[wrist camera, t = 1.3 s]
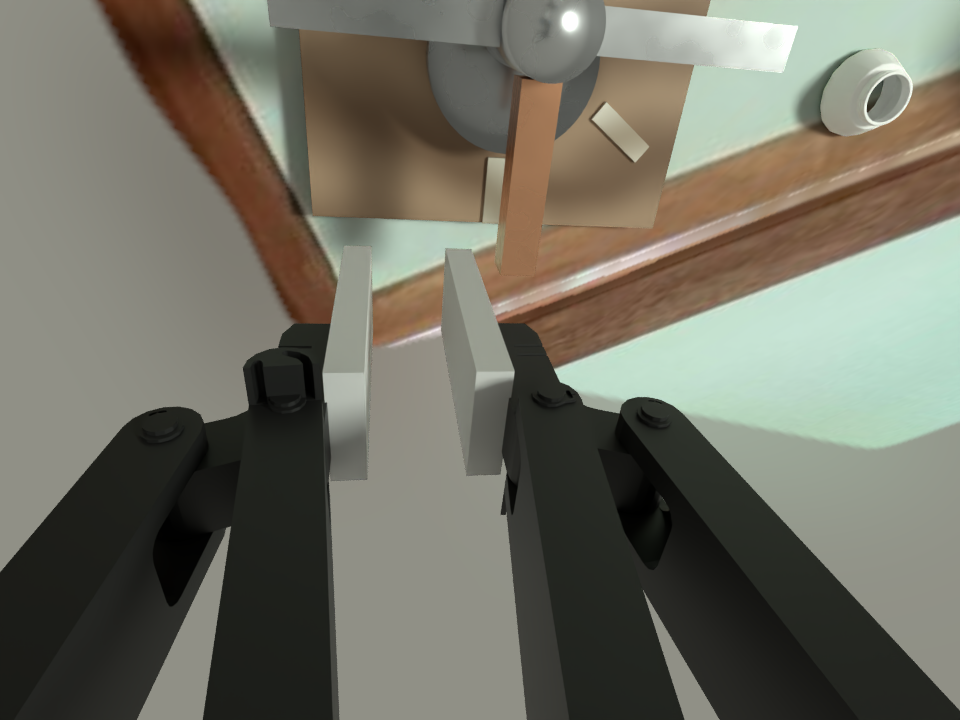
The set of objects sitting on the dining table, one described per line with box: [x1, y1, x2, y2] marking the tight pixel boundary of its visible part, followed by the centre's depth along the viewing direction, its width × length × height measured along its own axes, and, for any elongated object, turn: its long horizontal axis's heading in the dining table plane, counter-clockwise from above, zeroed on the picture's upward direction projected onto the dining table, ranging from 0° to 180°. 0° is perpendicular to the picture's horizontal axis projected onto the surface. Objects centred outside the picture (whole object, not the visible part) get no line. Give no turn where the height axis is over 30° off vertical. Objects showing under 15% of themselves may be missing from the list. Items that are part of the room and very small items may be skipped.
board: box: [299, 0, 710, 228], centre depth 30 cm, size 22×22×2 cm
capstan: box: [267, 0, 798, 276], centre depth 26 cm, size 22×22×9 cm
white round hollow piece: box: [820, 48, 913, 136], centre depth 35 cm, size 5×3×5 cm
